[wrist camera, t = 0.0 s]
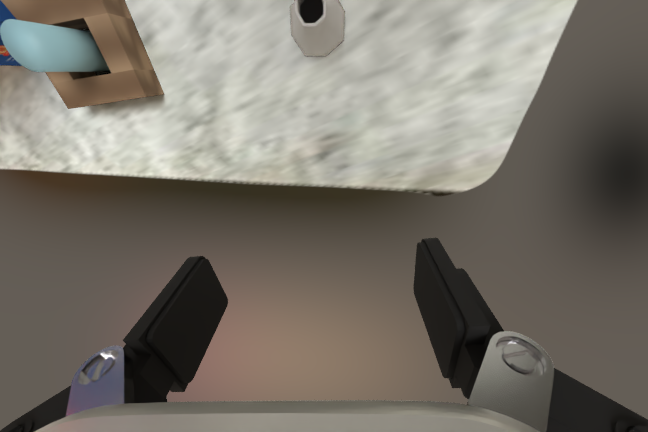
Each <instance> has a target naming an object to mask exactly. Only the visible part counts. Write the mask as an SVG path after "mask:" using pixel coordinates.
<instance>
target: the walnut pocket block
mask: <svg viewBox="0 0 648 432" xmlns="http://www.w3.org/2000/svg"><path fill="white" fill-rule="evenodd" d="M1 1H2V2H3V4H4V5H5V6H6V7H7V8H8V10H9V11H10V12H11V13H12V14H13V16H14V17H15V18H16V19H17V20H22V21H28V22H34V23H41V24H47V25H53V26H59V27H66V28H72V29H78V30H80V29H85V28H89V29H90V31H91V33H92V35H93V37H94V39H95V41H96V43H97V45H98V47H99V49H100V51H101V53H102V55H103V57H104V59H105V61H106V63H107V65H108V67H109V69H110V71H111V74H105V75H99V76H97V75H96V73H95V72H46V74H47V76H48V77H49V79H50V80H51V82H52V84H53V85H54V87H55V88H56V90H57V92H58V93H59V95H60V96H61V98H62V100H63V101H64V103H65V104H66V106H67V108H68V109H71V108H78V107H85V106H92V105H98V104H104V103H111V102H117V101H123V100H130V99H136V98H143V97H149V96H155V95H162V94H164V93H163V90H162V88H161V86H160V83H159V81H158V79H157V76H156V74H155V71H154V69H153V67H152V64H151V62H150V60H149V57H148V55H147V53H146V50H145V48H144V46H143V43H142V41H141V38H140V36H139V34H138V31H137V29H136V27H135V24H134V22H133V20H132V17H131V15H130V12H129V10H128V8H127V5H126V3H125V1H124V0H1Z"/></svg>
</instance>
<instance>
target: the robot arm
mask: <svg viewBox="0 0 648 432" xmlns="http://www.w3.org/2000/svg"><path fill="white" fill-rule="evenodd" d="M414 294H415V298H416V300H417V303H418V306H419V309H420V312H421V315H422V318H423V321H424V323H425V326H426V329H427V332H428V335H429V338H430V341H431V344H432V347H433V349H434V352H435V355H436V358H437V361H438V364H439V367H440V369H441V372H442V375H443V377H444V378H449V380H450V383H451V386H452V388H461V389H462V392H463V395H464V396H465V397H466V398H467V399H468V402H467V405H464V404H458V403H449V402H434V401H391V400H390V401H389V400H388V401H387V400H355V401H354V400H348V401H347V400H341V401H340V400H339V401H338V400H336V401H335V400H333V401H332V400H331V401H217V402H167V394H168V392H169V390H170V391H172V392H184V391H185V389H186V387H187V385H188V383H189V382H191V381H192V380H193V378H194V376H195V374H196V371H197V370H198V367H199V365H200V363H201V361H202V359H203V357H204V355H205V352H206V350H207V348H208V346H209V344H210V342H211V339H212V337H213V335H214V333H215V331H216V329H217V327H218V324H219V322H220V320H221V318H222V316H223V314H224V312H225V309H226V307H227V304H228V299H227V296H226V294H225V292H224V290H223V288H222V286H221V284H220V282H219V280H218V278H217V276H216V274H215V272H214V271H213V268H212V266H211V264H210V262H209V260H208V259H205V257H203V256H197V257H189V258H188V259H187V260H186V261H185V262H184V264H183V265H182V266H181V268H180V269H179V270H178V271H177V273H176V274H175V275H174V277H173V278H172V279H171V280H170V281H169V283H168V284H167V285H166V287H165V288H164V289H163V290H162V292H161V293H160V294H159V295H158V297H157V298H156V299H155V301H154V302H153V303H152V304H151V305H150V307H149V308H148V309H147V310H146V312H145V313H144V314H143V316H142V317H141V318H140V319H139V321H138V322H137V323H136V324H135V326H134V327H133V328H132V329H131V331H130V332H129V333H128V335H127V336H126V337H125V338H124V340H123V341H124V342H125V343H126V345H125V346H124V348H122V347H120V346H111V347H107V348H105V349H103V350H101V351H99V352H97V353H96V354H94V355H93V356H92V357H90V358H89V359H88V360H87V361H85V363H84V364H83V365H82V366H81V367H80V368H79V369H78V371H77V372H76V374H75V375H74V378H73V380H72V384H71V386H69V387H68V388H66V389H65V390H63V391H61V392H60V393H58V394H56V395H55V396H53V397H52V398H50V399H48V400H47V401H45V402H44V403H42V404H40V405H39V406H37V407H36V408H34V409H32V410H31V411H29V412H28V413H26V414H24V415H23V416H21V417H20V418H18V419H16V420H15V421H13V422H12V423H10V424H9V425H8V426H6V427H5V428H3V429H2V430H1V431H0V432H648V420H647V419H645V418H644V417H642V416H640V415H638V414H636V413H635V412H633V411H631V410H629V409H627V408H625V407H624V406H622V405H620V404H618V403H617V402H615V401H613V400H611V399H609V398H607V397H606V396H604V395H602V394H600V393H598V392H597V391H595V390H593V389H591V388H590V387H588V386H586V385H584V384H582V383H580V382H579V381H577V380H575V379H573V378H571V377H569V376H568V375H566V374H564V373H562V372H561V371H559V370H557V369H555V368H554V364H553V362H552V360H551V358H550V356H549V355H548V354H547V353H546V351H545V350H544V349H543V348H542V347H541V346H540V345H538V344H537V343H536V342H535V341H533V340H531V339H530V338H528V337H526V336H524V335H521V334H519V333H516V332H509V331H504V330H503V329H502V327H501V326H500V324H499V322H498V321H497V319H496V318H495V316H494V315H493V313H492V312H491V310H490V308H489V307H488V306H487V304H486V302H485V301H484V299H483V298H482V296H481V294H480V293H479V291H478V290H477V288H476V287H475V285H474V284H473V282H472V280H471V279H470V277H469V276H468V274H467V273H466V271H465V270H464V269H462V268H461V269H456V268H455V266H454V265H453V263H452V261H451V260H450V258H449V256H448V254H447V253H446V251H445V249H444V248H443V246H442V244H441V243H440V241H439V240H438V238H428V239H422V242H421V243H418V244H417V252H416V265H415V277H414Z"/></svg>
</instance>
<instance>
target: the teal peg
mask: <svg viewBox="0 0 648 432" xmlns="http://www.w3.org/2000/svg"><path fill="white" fill-rule="evenodd" d="M0 35H1V39H2V41H3V44H4V46H5V48H6V49H7V51H8V52H9V54H10V55H11V56H12V57H13V58H14V59H15V60H16V61H17V62H18V63H19V64H21V65H22V66H24V67H25V68H27V69H29V70H32V71H35V72H109V71H110V69H109V67H108V65H107V63H106V61H105V59H104V57H103V55H102V53H101V51H100V49H99V47H98V45H97V43H96V41H95V39H94V37H93V35H92V33H91V31H85V30H78V29H72V28H66V27H59V26H53V25H47V24H41V23H34V22H28V21H22V20H15V19H8V20H5V21H4V22H3V23H2V24H1V27H0Z"/></svg>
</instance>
